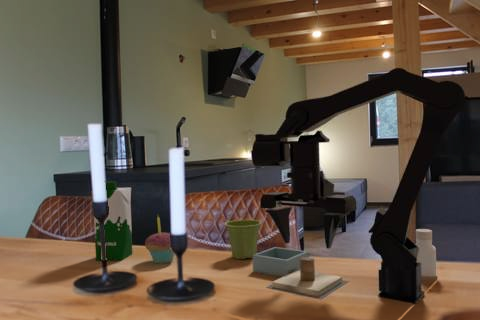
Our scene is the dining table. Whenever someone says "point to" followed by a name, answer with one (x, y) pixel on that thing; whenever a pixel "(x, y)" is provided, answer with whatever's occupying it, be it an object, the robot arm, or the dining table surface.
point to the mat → (312, 295)
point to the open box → (278, 261)
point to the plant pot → (243, 237)
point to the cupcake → (159, 246)
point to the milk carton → (116, 224)
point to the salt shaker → (426, 252)
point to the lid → (307, 280)
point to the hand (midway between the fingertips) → (307, 245)
